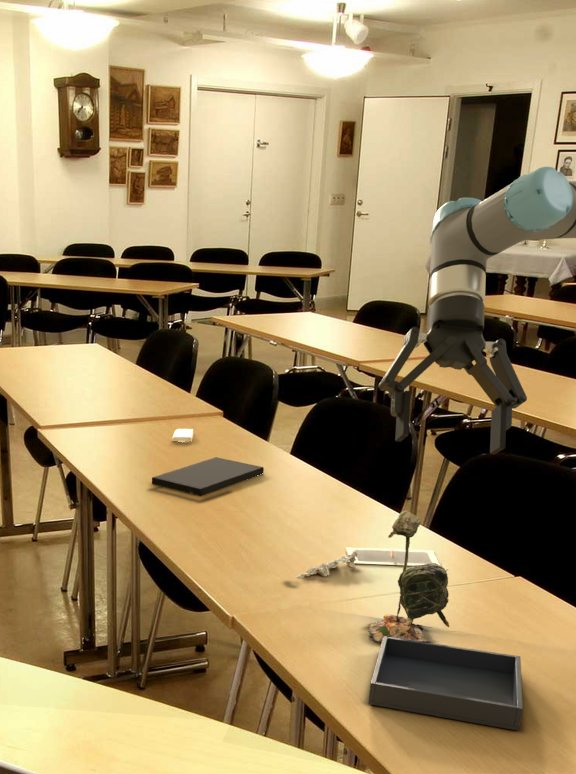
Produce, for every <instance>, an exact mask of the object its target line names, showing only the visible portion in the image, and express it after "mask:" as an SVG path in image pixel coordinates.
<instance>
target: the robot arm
mask: <svg viewBox="0 0 576 774" xmlns="http://www.w3.org/2000/svg"><path fill="white" fill-rule="evenodd" d="M429 239H430V241H429V242H430V263H429V264H430V266H429V267H430V268H429V282H428V301H427V302H428V303H427V305H428V309H427V319H426V332H422V331H420V329H419V327H417V326H412V327H411V328H410V329H409V330H408V332H407V333H406V334H405V335H404V337H403V341H402V347H401V349H400V350H399V352H398V354H397V355H396V357H395V358H394V359H393V362H392V363H391V365H390V366H389V368H388V369H387V371H386V372H385V374H384V376H383V377H382V379H381V380H380V382H379V383H378V386H377V387H378V390H379V391H382V392H383V391H385V392H387V393H388V394H387V395H388V397H389V398H390V416H391V417H395V418H396V420H395V438H394V441H395V442H398V443H399V442H402V441H403V440H405V438H406V437H408V436H409V433H410V432H409V431H410V415H411V396H412V390H406V389H407V388H408V387H409V386H410V385H412V383H413V382H414V381H415V380H416V379H418V378H419V377H420V376H421V375H422V374H423V373H425V371H426V370H427V369H428V368H429V367H431V366H432V365H433V364H434V363H435V364H436V365H438V367H439V368H443V369H445V368H451V369H454V370H459V371H461V370H462V369H463V370H464V371H465V372H466V373H467V374H468V375H469V376H472V377H473V380H475V381H476V383H477V384H478V385H479V387H480V388H481V389H482V391H483V392H484V393H485V395H486V396H487V398H489V400H490V401H491V402H492V403H493V405H494V406H495V408H493V409H492V410H491V415H490V439H489V440H490V443H489V454H490V455H497V454H498V453H500V452H501V451H503V450H504V449H506V442H507V441H506V437H507V436H506V435H507V431H508V430H509V429H510V428H511V427H512V425H513V409H517V408H519V407H520V406H521V405H522V404H524V403H525V402H527V400H528V397H527V394H526V392H525V390H524V388H523V386H522V384H521V381H520V379H519V377H518V375H517V373H516V370H515V369H514V367H513V364H512V362H511V360H510V358H509V355H508V353H507V343H506V340H505V339H504V338H499V339H497V340H496V341H486V340H485V338H484V336H483V335H484V334H483V333H484V328H485V307H486V306H485V304H484V303H485V302H486V280H487V279H486V277H487V264H488V263H487V261H488V259H490V258H492V257H494V256H497V255H498V254H500V253H502V252H504V251H506V250H508V249H509V248H512V247H513V246H515V245H517V244H519V243H522V242H524V241H525V242H526V241H540V240H555V239H557V240H559V239H576V180H572V181H571V180H570V181H569V180H568V178H567V176H565V174H564V173H562V172H561V171H557V169H556V168H555V167H552V166H541V167H538V168H537V169H535V170H533V171H530V172H529V173H526V174H523V175H521V176H518V178H516V179H514V180H513V182H511V183H510V184H508V185H506V186H505V187H503V188H501V189H500V190H498V191H497V192H495V193H494V194H491V195H490V196H489V197H487V198H485V199H484V200H483V201H482V200H481V199H478V198H474V197H460V198H458V200H450V201H448V202H446V203H444V204H443V205H441V206H440V207H439V209H437V210H436V212H435V214H434V216H433V222H432V228H431V234H430V238H429ZM422 343H423V346H424V347H425V349H426V351H427V352H428V353H429V354H428V355H427V356H426V357H425V358H424V359H423V360H421V361H420V363H418V364H417V365H416V366H415V367H414V368H413V369H411V371H410V372H409V373H407V374H406V375H405V376H404V377H403V378H402V379H401V380H400V381H397V380H395V379H397V376H398V375H399V373H400V372H401V370H402V369H403V367H404V366H405V364H406V362H407V361H408V359H409V358H410V356H411V354H412V353H413V351H414V350H415V348H418V347H419V346H420V345H421V344H422ZM482 352H484V353H485V354H486V355H484V354H483V353H482ZM487 359H489V364H490V366H491V367H490V366H489V364H488V360H487ZM473 362H475V364H473Z"/></svg>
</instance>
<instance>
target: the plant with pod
mask: <svg viewBox="0 0 576 774" xmlns="http://www.w3.org/2000/svg"><path fill="white" fill-rule="evenodd" d="M421 522H422V520H421V517H419V516H418V515H416V514H413V513H412V512H410V510H409V511H408V510H402V511H401V512H400V513H399V515H398V518H397V519H396V520H394V523H393V524H392V526H391V528H392V531H390V534H388V536H387V537H388V539H391V538H392V537H394V535H397V536H403V537H405V549H404V550H406V552H405V562H404V565H403V568H402V572H401V573H400V575H399V577H398V579H397V583H398V584H397V585H398V587H399V600H398V609H397V612H396V615H395V614H385V615H383V620H381V621H377V622H371V623H368V627H367V628H368V630H369V631H367V632H368V633H369V635H368V638H369V640H372V641H376V642H379V643H382V640H383V637H384V636H386V637H393V638H400V639H407V640H413V641H420V642H430V641H431V640H430V639H426V640H425V639H423V638H424V636H425V634H423V630H424V628H423V627H422V626H420V624H415V623H414V620H416V619H420V618H422V617H425V616H428V615H434V614H437V616H438V617H439V619H440V620H441V621H442V622H443V625H445V626H446V627H447V628H450V623H449V621H448V620H447V617H446V616H445V614H444V612H443V610H444V609H445V608H446V607H447V605H448V603H449V590H448V584H449V577H448V572H447V571H448V570H450V569H449V568H448V569H445V568H444V567H443V566H442V565H441V564H440V565H438V564H436V563H430V564H424V565H415V566H409V567H408V565H407V562H408V552H409V551H408V550H410V549H409V548H410V544H411V542H410V540H411V538H413V537H414V536H415V535H416V534H417V532H418V528H419V527H420V525H421ZM407 567H408V568H407ZM401 607H402V608H403V610H404V612H405V614H406V616H407V617H406V618H405V617H404V616H400V615H399V614H400V612H401ZM422 639H423V640H422Z"/></svg>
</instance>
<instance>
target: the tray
mask: <svg viewBox="0 0 576 774" xmlns="http://www.w3.org/2000/svg"><path fill="white" fill-rule="evenodd" d="M380 644H381V645H380V648H379V651H378V654H377V659H376V663H375V667H374V670H373V673H372V677H371V681H370V686H369V694H368V702H367V704H368V705H372V706H377V707H383V708H389V709H395V710H400V711H406V712H410V713H417V714H422V715H427V716H434V717H438V718H445V719H450V720H456V721H462V722H467V723H472V724H478V725H483V726H484V725H485V726H490V727H496V728H499V729H500V728H501V729H507V730H513V731H517V732H519V730H520V725H521V720H522V715H523V711H524V708H523V707H524V706H523V703H524V702H523V685H522V684H523V683H522V682H523V681H522V662H521V661H522V659H521V655H514V654H507V653H500V652H494V651H488V650H481V649H474V648H467V647H459V646H454V645H447V644H439V643H432V642H428V641H425V642H423V641H422V642H420V641H413V640H407V639H400V638H393V637H386V636H384V637H383V640H382V642H381V643H380Z"/></svg>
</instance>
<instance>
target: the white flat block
mask: <svg viewBox="0 0 576 774" xmlns="http://www.w3.org/2000/svg"><path fill="white" fill-rule="evenodd" d="M193 438H194V429H193V428H177V429H175V431H174V432H173V435H172V438H171V442H172V441H178V442H182V443H181V444H184V443H183V442H185V441H191V442H192V441H193ZM178 442H177V443H178ZM185 443H186V442H185Z"/></svg>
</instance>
